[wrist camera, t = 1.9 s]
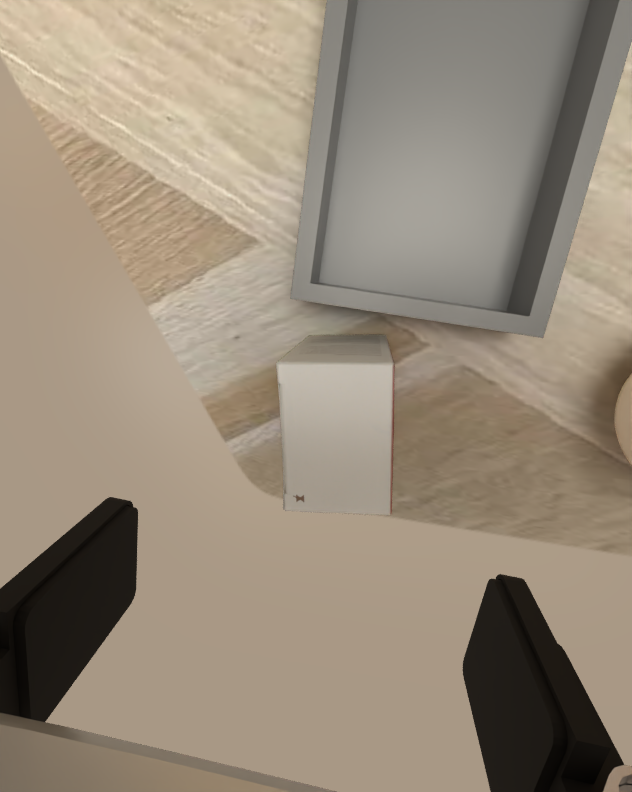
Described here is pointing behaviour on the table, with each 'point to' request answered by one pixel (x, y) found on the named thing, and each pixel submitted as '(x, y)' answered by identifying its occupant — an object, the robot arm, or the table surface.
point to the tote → (454, 154)
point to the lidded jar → (624, 419)
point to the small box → (337, 424)
